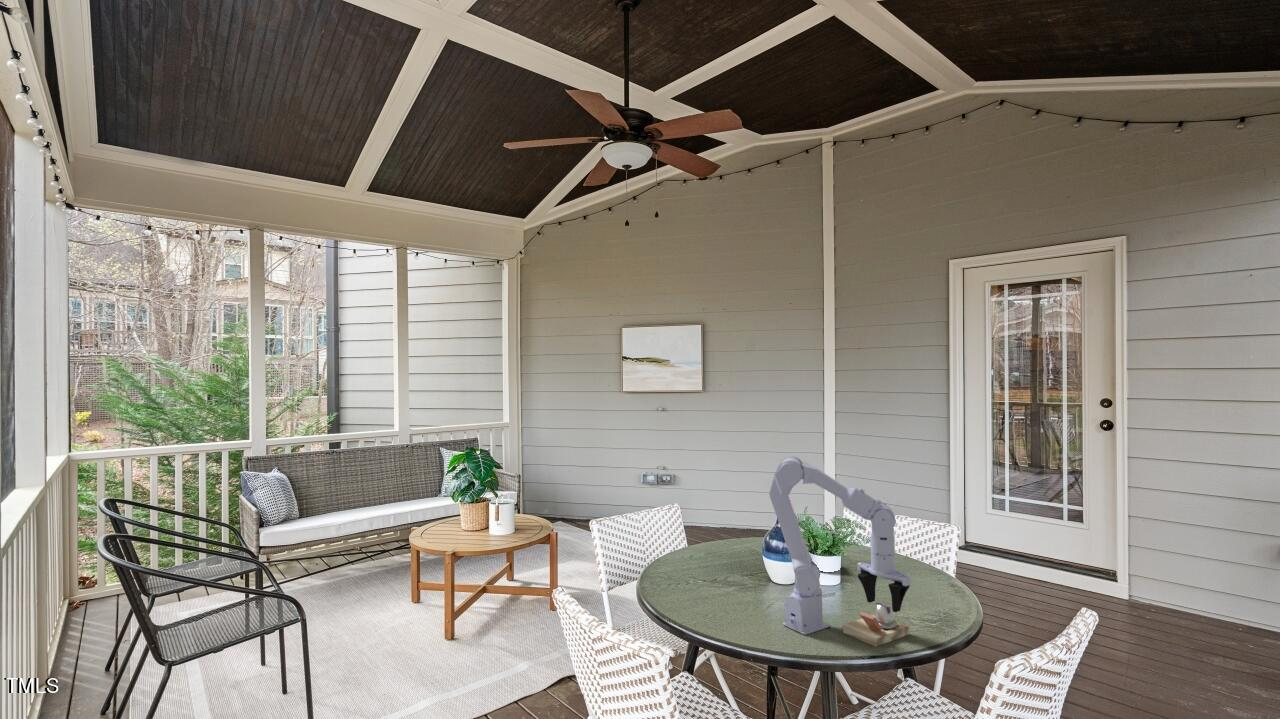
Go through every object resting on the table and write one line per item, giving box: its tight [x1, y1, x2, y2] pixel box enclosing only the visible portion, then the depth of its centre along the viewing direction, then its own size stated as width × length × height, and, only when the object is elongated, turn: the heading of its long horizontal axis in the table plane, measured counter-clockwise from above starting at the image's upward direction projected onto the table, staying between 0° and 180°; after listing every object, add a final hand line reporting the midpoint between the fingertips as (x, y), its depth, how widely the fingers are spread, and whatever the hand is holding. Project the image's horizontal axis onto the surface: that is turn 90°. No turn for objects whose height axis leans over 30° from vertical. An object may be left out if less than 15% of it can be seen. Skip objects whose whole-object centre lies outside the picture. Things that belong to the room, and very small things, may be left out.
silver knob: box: [875, 601, 898, 631], centre depth 161 cm, size 6×6×7 cm
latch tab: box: [859, 611, 882, 631], centre depth 159 cm, size 4×4×1 cm
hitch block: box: [842, 613, 910, 648], centre depth 161 cm, size 13×10×2 cm
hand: (883, 606), depth 161 cm, fingers open, 7 cm apart
